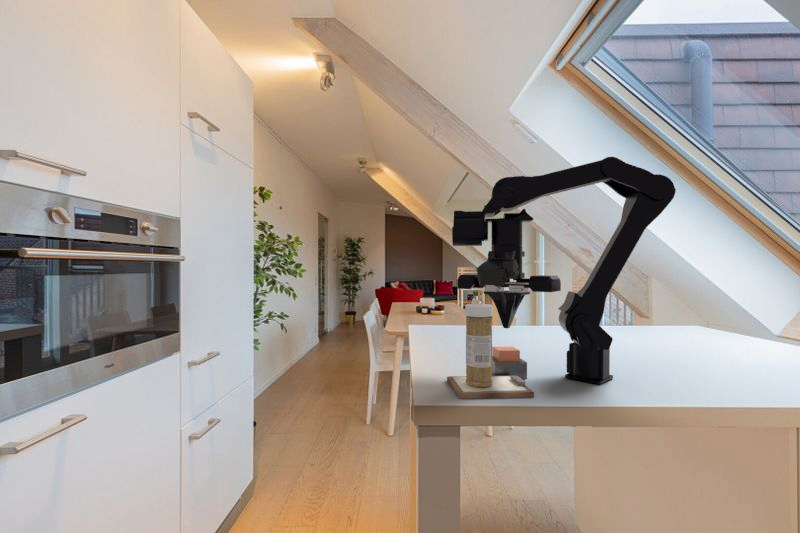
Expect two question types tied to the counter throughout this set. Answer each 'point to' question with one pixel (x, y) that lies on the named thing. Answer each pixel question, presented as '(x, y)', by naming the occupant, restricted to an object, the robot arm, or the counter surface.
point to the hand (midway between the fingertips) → (506, 328)
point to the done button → (506, 354)
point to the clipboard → (491, 388)
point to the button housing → (509, 368)
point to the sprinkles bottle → (479, 344)
